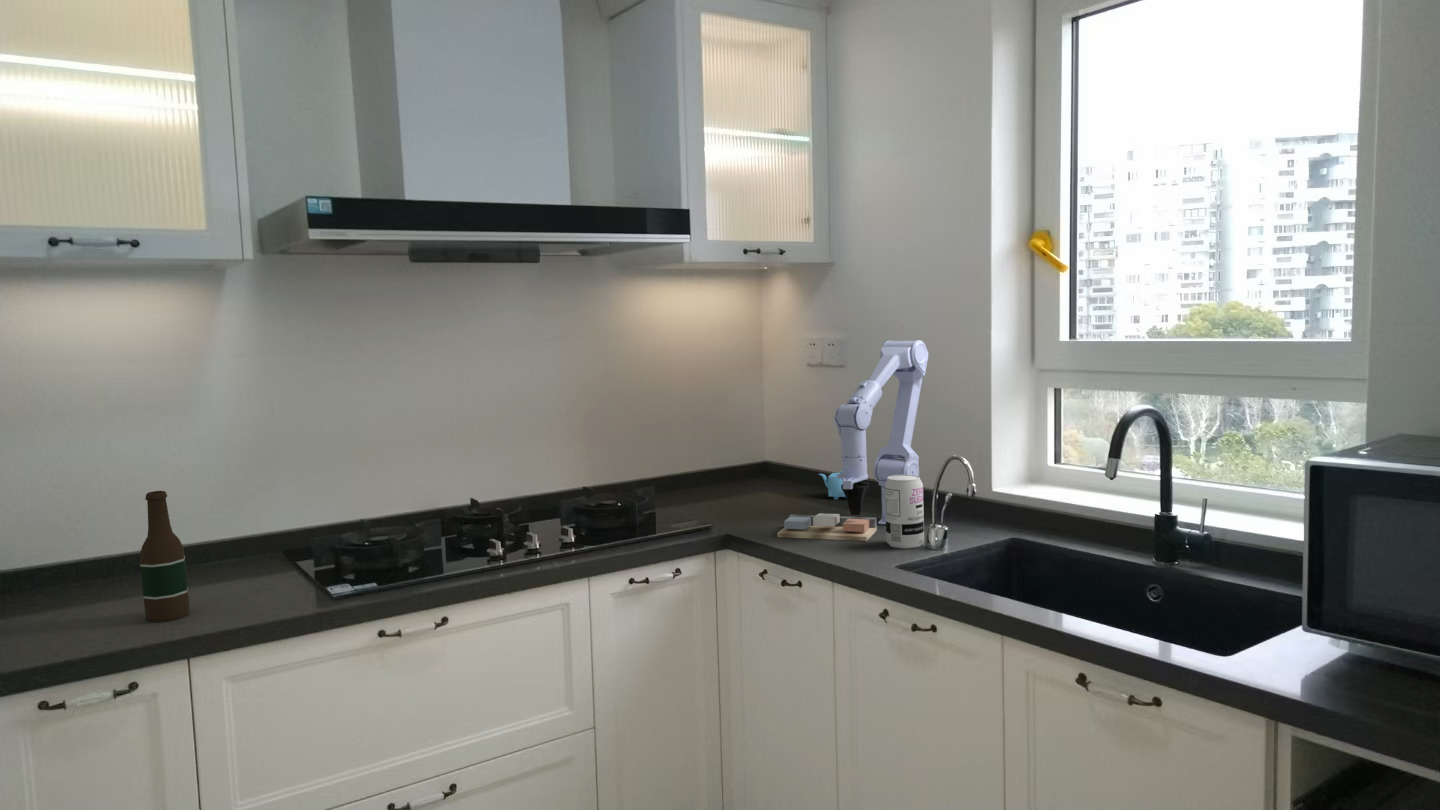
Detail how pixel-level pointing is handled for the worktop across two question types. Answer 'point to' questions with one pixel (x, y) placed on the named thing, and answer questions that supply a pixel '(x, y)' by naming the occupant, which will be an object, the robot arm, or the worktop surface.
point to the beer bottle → (163, 565)
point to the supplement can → (904, 511)
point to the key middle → (826, 519)
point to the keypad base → (830, 530)
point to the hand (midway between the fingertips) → (855, 514)
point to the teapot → (834, 485)
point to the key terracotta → (856, 525)
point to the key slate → (797, 523)
